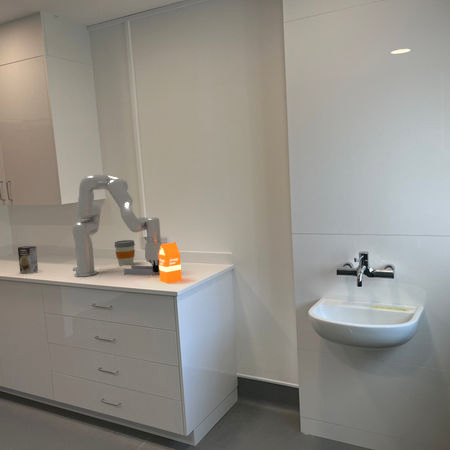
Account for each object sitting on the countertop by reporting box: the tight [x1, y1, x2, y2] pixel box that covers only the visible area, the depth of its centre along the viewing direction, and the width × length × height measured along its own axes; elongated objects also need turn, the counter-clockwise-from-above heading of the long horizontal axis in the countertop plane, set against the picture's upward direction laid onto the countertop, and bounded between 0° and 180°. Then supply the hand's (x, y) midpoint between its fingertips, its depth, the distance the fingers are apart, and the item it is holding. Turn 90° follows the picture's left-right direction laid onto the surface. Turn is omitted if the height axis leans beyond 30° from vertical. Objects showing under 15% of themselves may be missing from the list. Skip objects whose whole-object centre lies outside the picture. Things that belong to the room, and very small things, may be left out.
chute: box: [123, 265, 154, 276], centre depth 266 cm, size 18×9×4 cm, turn 70°
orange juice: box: [159, 242, 183, 284], centre depth 246 cm, size 8×9×20 cm
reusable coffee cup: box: [114, 239, 136, 267], centre depth 298 cm, size 13×13×15 cm
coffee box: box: [17, 245, 39, 274], centre depth 289 cm, size 9×6×16 cm
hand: (156, 271), depth 263 cm, fingers closed
